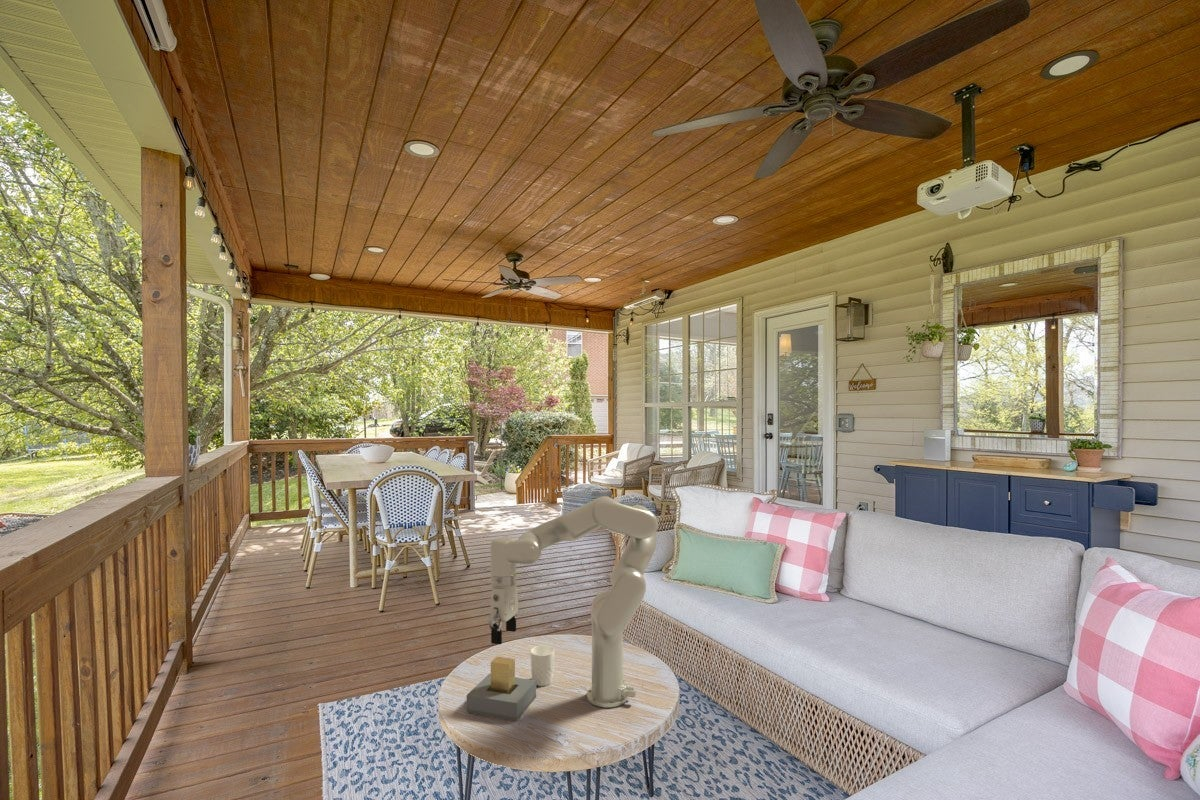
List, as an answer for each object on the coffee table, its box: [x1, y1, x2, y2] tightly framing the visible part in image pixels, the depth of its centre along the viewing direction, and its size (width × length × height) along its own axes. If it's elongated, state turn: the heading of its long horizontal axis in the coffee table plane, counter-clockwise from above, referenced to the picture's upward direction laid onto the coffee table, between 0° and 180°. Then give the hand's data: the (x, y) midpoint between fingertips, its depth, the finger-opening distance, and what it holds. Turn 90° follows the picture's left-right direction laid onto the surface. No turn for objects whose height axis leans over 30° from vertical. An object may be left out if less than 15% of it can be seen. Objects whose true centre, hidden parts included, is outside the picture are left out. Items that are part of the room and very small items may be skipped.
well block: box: [465, 673, 537, 722], centre depth 165 cm, size 16×14×5 cm
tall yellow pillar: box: [490, 656, 516, 694], centre depth 165 cm, size 6×4×12 cm, turn 74°
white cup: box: [530, 645, 556, 687], centre depth 180 cm, size 8×8×10 cm
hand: (504, 637), depth 165 cm, fingers open, 9 cm apart
